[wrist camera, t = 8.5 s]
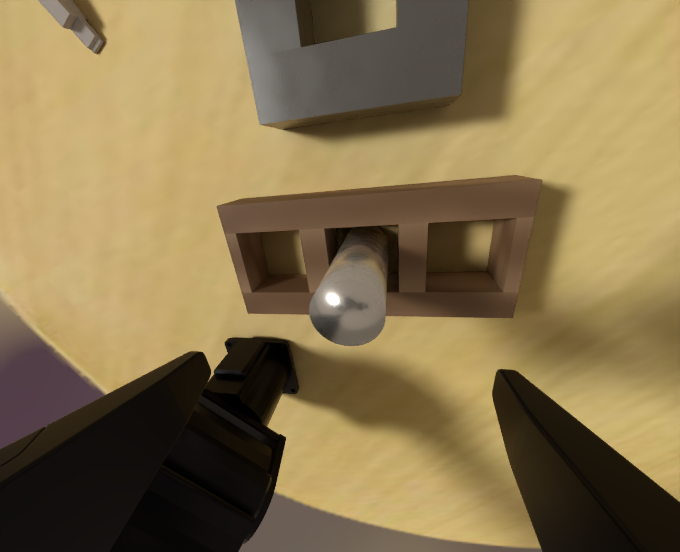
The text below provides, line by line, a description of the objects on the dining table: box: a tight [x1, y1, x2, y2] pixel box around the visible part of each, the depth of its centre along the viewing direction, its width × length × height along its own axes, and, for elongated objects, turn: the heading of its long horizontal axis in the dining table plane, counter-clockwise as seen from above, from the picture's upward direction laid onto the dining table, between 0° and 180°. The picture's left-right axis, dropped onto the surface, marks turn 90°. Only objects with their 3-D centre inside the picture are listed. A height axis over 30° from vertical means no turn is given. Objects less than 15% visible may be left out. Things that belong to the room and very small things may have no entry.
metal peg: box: [309, 226, 389, 346], centre depth 15 cm, size 3×3×9 cm
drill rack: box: [217, 175, 542, 318], centre depth 17 cm, size 8×18×3 cm, turn 96°
